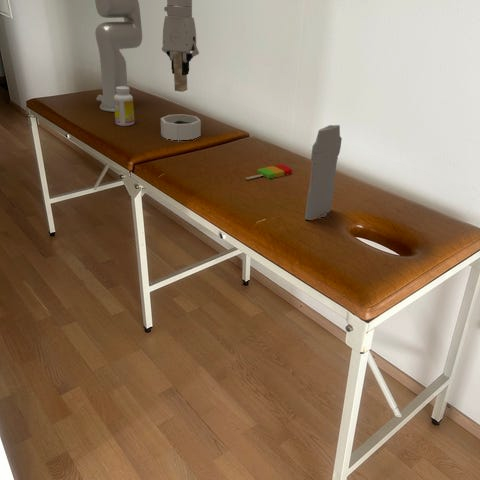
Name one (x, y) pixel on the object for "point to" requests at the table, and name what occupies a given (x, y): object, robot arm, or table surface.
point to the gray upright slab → (323, 172)
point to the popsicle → (272, 171)
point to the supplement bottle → (123, 106)
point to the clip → (181, 122)
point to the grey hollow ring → (180, 127)
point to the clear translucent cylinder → (179, 72)
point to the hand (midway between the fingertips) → (180, 73)
